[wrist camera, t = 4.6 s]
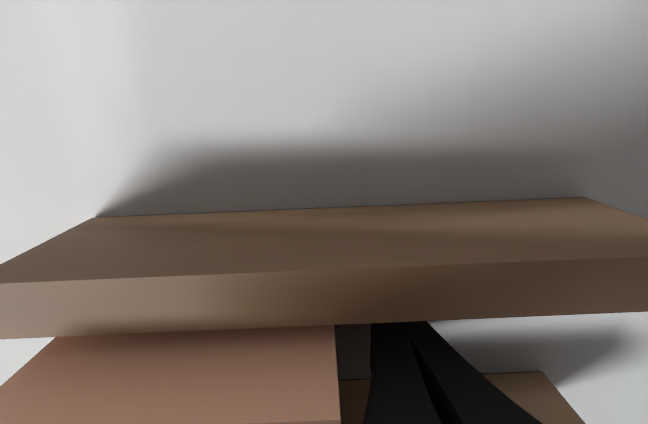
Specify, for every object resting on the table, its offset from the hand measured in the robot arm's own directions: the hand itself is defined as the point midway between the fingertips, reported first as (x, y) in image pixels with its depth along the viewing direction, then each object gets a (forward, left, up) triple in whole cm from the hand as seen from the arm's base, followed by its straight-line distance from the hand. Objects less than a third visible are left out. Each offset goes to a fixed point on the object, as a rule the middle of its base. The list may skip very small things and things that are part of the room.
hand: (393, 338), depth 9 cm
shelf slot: (0, +1, -1) cm, 2 cm away
